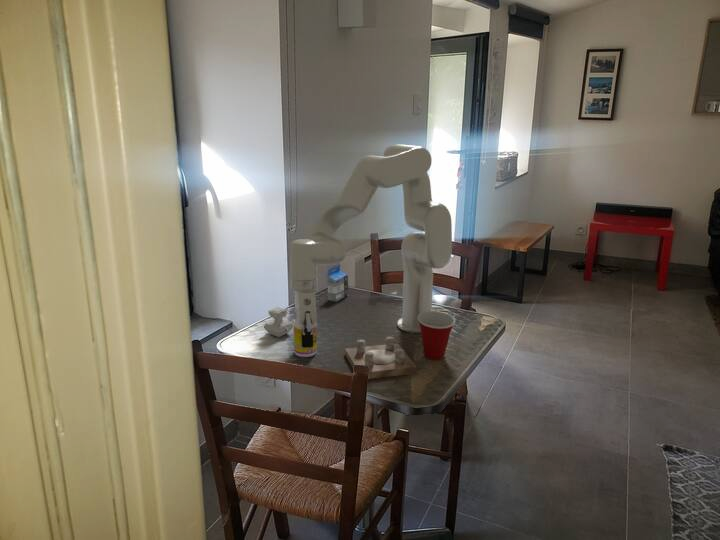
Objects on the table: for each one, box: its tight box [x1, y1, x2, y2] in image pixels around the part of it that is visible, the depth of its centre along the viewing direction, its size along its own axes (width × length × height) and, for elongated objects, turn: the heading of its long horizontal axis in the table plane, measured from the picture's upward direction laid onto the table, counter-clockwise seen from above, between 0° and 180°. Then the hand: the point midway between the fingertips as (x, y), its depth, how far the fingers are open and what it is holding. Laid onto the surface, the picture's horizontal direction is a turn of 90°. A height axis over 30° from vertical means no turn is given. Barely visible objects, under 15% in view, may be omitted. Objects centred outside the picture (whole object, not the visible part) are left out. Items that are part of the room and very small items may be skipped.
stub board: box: [344, 336, 418, 380], centre depth 150 cm, size 16×16×6 cm
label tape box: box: [326, 263, 349, 303], centre depth 204 cm, size 9×4×12 cm, turn 149°
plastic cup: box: [417, 310, 456, 361], centre depth 155 cm, size 11×11×12 cm
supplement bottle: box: [293, 316, 318, 358], centre depth 156 cm, size 7×7×13 cm
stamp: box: [263, 306, 294, 338], centre depth 170 cm, size 9×7×8 cm
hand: (305, 341), depth 156 cm, fingers closed on supplement bottle, 6 cm apart
